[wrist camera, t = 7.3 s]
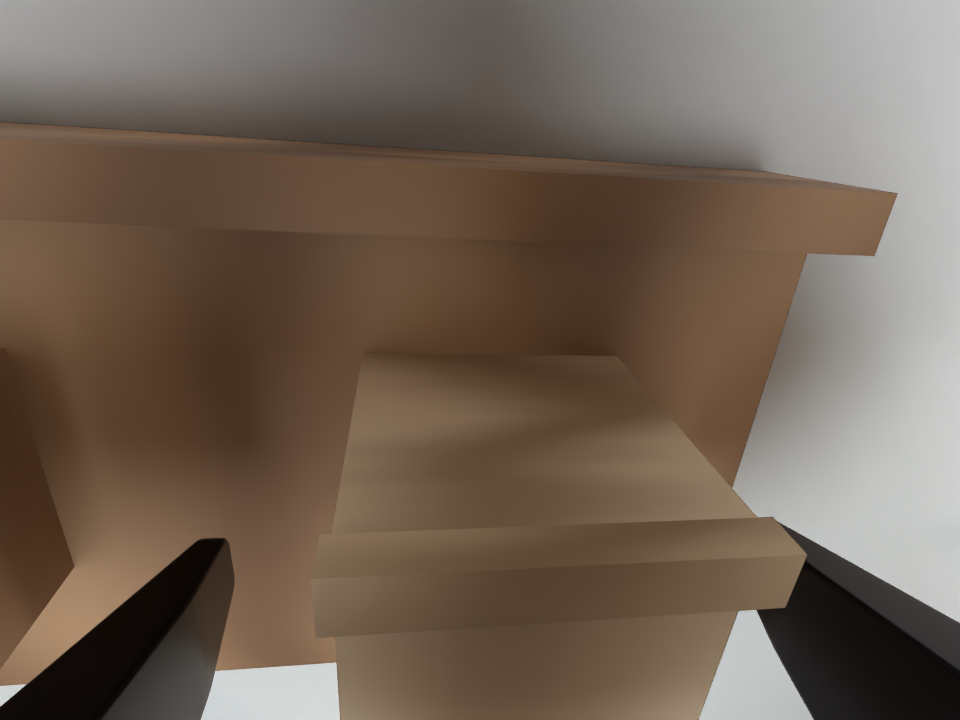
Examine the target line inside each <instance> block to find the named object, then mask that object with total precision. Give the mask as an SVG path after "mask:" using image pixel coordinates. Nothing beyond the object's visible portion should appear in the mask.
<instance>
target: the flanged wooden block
mask: <svg viewBox="0 0 960 720" xmlns="http://www.w3.org/2000/svg"><path fill="white" fill-rule="evenodd" d="M806 557H807V554H806V553H805V552H804V550H803V549H802V548H801V547H800V546H799V545H798V544H797V543H796V542H795V541H794V539H793V538H792V537H791V536H790V535H789V534H788V533H787V532H786V531H785V530H784V528H783V527H782V526H781V525H780V524H779V523H778V522H777V521H776V520H775V519H774V517H761V518H757V517H756V515H755V514H754V513H753V512H752V511H751V510H750V508H749V507H748V506H747V505H746V504H745V503H744V502H743V500H742V499H741V498H740V497H739V496H738V495H737V494H736V492H735V491H734V490H733V489H732V488H731V487H730V486H729V484H728V483H727V482H726V481H725V480H724V479H723V477H722V476H721V475H720V474H719V473H718V472H717V471H716V469H715V468H714V467H713V466H712V465H711V464H710V463H709V461H708V460H707V459H706V458H705V457H704V456H703V455H702V453H701V452H700V451H699V450H698V449H697V448H696V447H695V445H694V444H693V443H692V442H691V441H690V440H689V438H688V437H687V436H686V435H685V434H684V433H683V432H682V430H681V429H680V428H679V427H678V426H677V425H676V424H675V422H674V421H673V420H672V419H671V418H670V417H669V416H668V414H667V413H666V412H665V411H664V410H663V409H662V407H661V406H660V405H659V404H658V403H657V402H656V401H655V399H654V398H653V397H652V396H651V395H650V394H649V393H648V391H647V390H646V389H645V388H644V387H643V386H642V385H641V383H640V382H639V381H638V380H637V379H636V378H635V376H634V375H633V374H632V373H631V372H630V371H629V370H628V368H627V367H626V366H625V365H624V364H623V363H622V362H621V360H620V359H619V358H618V357H617V356H586V355H467V354H363V355H362V361H361V366H360V372H359V378H358V384H357V389H356V395H355V401H354V407H353V413H352V418H351V424H350V430H349V436H348V441H347V447H346V453H345V459H344V464H343V470H342V476H341V482H340V487H339V493H338V499H337V505H336V510H335V516H334V522H333V528H332V533H331V534H320V536H319V541H318V546H317V551H316V556H315V561H314V566H313V571H312V576H311V587H312V599H313V610H314V622H315V634H316V638H327V637H335V648H336V663H337V679H338V694H339V709H340V720H699V717H700V714H701V712H702V709H703V706H704V704H705V701H706V698H707V695H708V693H709V690H710V687H711V684H712V682H713V679H714V676H715V673H716V671H717V668H718V665H719V663H720V660H721V657H722V654H723V652H724V649H725V646H726V643H727V641H728V638H729V635H730V633H731V630H732V627H733V624H734V622H735V619H736V616H737V613H738V611H744V610H759V609H774V608H785V607H786V605H787V602H788V600H789V598H790V595H791V593H792V590H793V588H794V586H795V583H796V581H797V578H798V576H799V574H800V571H801V569H802V566H803V564H804V561H805V559H806Z"/></svg>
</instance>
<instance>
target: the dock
mask: <svg viewBox="0 0 960 720" xmlns="http://www.w3.org/2000/svg"><path fill="white" fill-rule="evenodd" d="M897 194H898V193H892V192H886V191H879V190H873V189H867V188H861V187H855V186H849V185H843V184H837V183H831V182H825V181H819V180H812V179H806V178H800V177H794V176H788V175H782V174H776V173H770V172H763V171H748V170H732V169H717V168H701V167H686V166H671V165H655V164H640V163H624V162H609V161H594V160H578V159H563V158H548V157H532V156H517V155H501V154H486V153H471V152H455V151H440V150H424V149H409V148H394V147H378V146H363V145H347V144H332V143H317V142H301V141H286V140H271V139H255V138H240V137H224V136H209V135H194V134H178V133H163V132H147V131H132V130H117V129H101V128H86V127H70V126H55V125H40V124H24V123H9V122H0V348H4V349H5V352H6V355H7V358H8V361H9V364H10V368H11V371H12V374H13V377H14V380H15V383H16V386H17V389H18V392H19V396H20V399H21V402H22V405H23V408H24V411H25V414H26V417H27V420H28V423H29V427H30V430H31V433H32V436H33V439H34V442H35V445H36V448H37V451H38V455H39V458H40V461H41V464H42V467H43V470H44V473H45V476H46V479H47V482H48V486H49V489H50V492H51V495H52V498H53V501H54V504H55V507H56V510H57V514H58V517H59V520H60V523H61V526H62V529H63V532H64V535H65V538H66V541H67V545H68V548H69V551H70V554H71V557H72V560H73V563H74V566H75V567H74V569H73V570H72V571H71V573H70V574H69V575H68V577H67V578H66V580H65V581H64V582H63V584H62V585H61V586H60V588H59V589H58V591H57V592H56V593H55V595H54V596H53V597H52V599H51V600H50V602H49V603H48V604H47V606H46V607H45V608H44V610H43V611H42V613H41V614H40V615H39V617H38V618H37V619H36V621H35V622H34V624H33V625H32V626H31V628H30V629H29V631H28V632H27V633H26V635H25V636H24V637H23V639H22V640H21V642H20V643H19V644H18V646H17V647H16V648H15V650H14V651H13V653H12V654H11V655H10V657H9V658H8V659H7V661H6V662H5V664H4V665H3V666H2V668H1V669H0V686H5V685H19V684H28V683H29V682H30V681H31V680H33V679H34V678H35V677H36V676H37V675H39V674H40V673H41V672H42V671H43V670H44V669H46V668H47V667H48V666H49V665H50V664H52V663H53V662H54V661H55V660H56V659H57V658H59V657H60V656H61V655H62V654H63V653H65V652H66V651H67V650H68V649H69V648H70V647H72V646H73V645H74V644H75V643H76V642H78V641H79V640H80V639H81V638H82V637H84V636H85V635H86V634H87V633H88V632H89V631H91V630H92V629H93V628H94V627H95V626H97V625H98V624H99V623H100V622H101V621H102V620H104V619H105V618H106V617H107V616H108V615H110V614H111V613H112V612H113V611H114V610H115V609H117V608H118V607H119V606H120V605H121V604H123V603H124V602H125V601H126V600H127V599H128V598H130V597H131V596H132V595H133V594H134V593H136V592H137V591H138V590H139V589H140V588H141V587H143V586H144V585H145V584H146V583H147V582H149V581H150V580H151V579H152V578H153V577H154V576H156V575H157V574H158V573H159V572H160V571H162V570H163V569H164V568H165V567H166V566H167V565H169V564H170V563H171V562H172V561H173V560H175V559H176V558H177V557H178V556H179V555H180V554H182V553H183V552H184V551H185V550H186V549H188V548H189V547H190V546H191V545H192V544H193V543H195V542H196V541H198V540H199V539H203V538H225V539H227V540H228V542H229V545H230V551H231V557H232V563H233V569H234V576H235V583H234V591H233V596H232V600H231V604H230V609H229V613H228V617H227V622H226V626H225V630H224V635H223V639H222V643H221V648H220V652H219V656H218V661H217V665H216V669H215V671H220V670H234V669H248V668H263V667H277V666H291V665H306V664H320V663H334V662H336V648H335V637H327V638H316V634H315V622H314V610H313V599H312V587H311V576H312V571H313V566H314V561H315V556H316V551H317V546H318V541H319V536H320V534H331V533H332V528H333V522H334V516H335V510H336V505H337V499H338V493H339V487H340V482H341V476H342V470H343V464H344V459H345V453H346V447H347V441H348V436H349V430H350V424H351V418H352V413H353V407H354V401H355V395H356V389H357V384H358V378H359V372H360V366H361V361H362V355H363V354H467V355H586V356H617V357H618V358H619V359H620V360H621V362H622V363H623V364H624V365H625V366H626V367H627V368H628V370H629V371H630V372H631V373H632V374H633V375H634V376H635V378H636V379H637V380H638V381H639V382H640V383H641V385H642V386H643V387H644V388H645V389H646V390H647V391H648V393H649V394H650V395H651V396H652V397H653V398H654V399H655V401H656V402H657V403H658V404H659V405H660V406H661V407H662V409H663V410H664V411H665V412H666V413H667V414H668V416H669V417H670V418H671V419H672V420H673V421H674V422H675V424H676V425H677V426H678V427H679V428H680V429H681V430H682V432H683V433H684V434H685V435H686V436H687V437H688V438H689V440H690V441H691V442H692V443H693V444H694V445H695V447H696V448H697V449H698V450H699V451H700V452H701V453H702V455H703V456H704V457H705V458H706V459H707V460H708V461H709V463H710V464H711V465H712V466H713V467H714V468H715V469H716V471H717V472H718V473H719V474H720V475H721V476H722V477H723V479H724V480H725V481H726V482H727V483H728V484H729V486H730V487H731V488H732V486H733V483H734V480H735V477H736V474H737V471H738V468H739V465H740V461H741V458H742V455H743V452H744V449H745V446H746V443H747V440H748V437H749V433H750V430H751V427H752V424H753V421H754V418H755V415H756V412H757V408H758V405H759V402H760V399H761V396H762V393H763V390H764V387H765V383H766V380H767V377H768V374H769V371H770V368H771V365H772V362H773V359H774V355H775V352H776V349H777V346H778V343H779V340H780V337H781V334H782V330H783V327H784V324H785V321H786V318H787V315H788V312H789V309H790V306H791V302H792V299H793V296H794V293H795V290H796V287H797V284H798V281H799V277H800V274H801V271H802V268H803V265H804V262H805V259H806V256H807V253H816V254H840V255H864V256H874V255H875V253H876V250H877V247H878V245H879V242H880V239H881V237H882V234H883V231H884V229H885V226H886V223H887V221H888V218H889V215H890V213H891V210H892V207H893V205H894V202H895V199H896V196H897Z"/></svg>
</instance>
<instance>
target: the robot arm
mask: <svg viewBox="0 0 960 720" xmlns="http://www.w3.org/2000/svg"><path fill="white" fill-rule="evenodd" d="M778 523H779V522H778ZM779 524H780V525H781V526H782V527H783V528H784V530H785V531H786V532H787V533H788V534H789V535H790V536H791V537H792V538H793V539H794V541H795V542H796V543H797V544H798V545H799V546H800V547H801V548H802V549H803V550H804V552H805V553H806V554H807V557H806V559H805V561H804V564H803V566H802V569H801V571H800V574H799V576H798V578H797V581H796V583H795V586H794V588H793V590H792V593H791V595H790V598H789V600H788V602H787V605H786V607H785V608H774V609H759V610H757V612H758V614H759V616H760V619H761V621H762V623H763V625H764V628H765V630H766V632H767V634H768V636H769V639H770V641H771V643H772V645H773V647H774V649H775V651H776V653H777V655H778V656H779V658H780V660H781V662H782V664H783V666H784V667H785V669H786V671H787V673H788V675H789V676H790V678H791V680H792V682H793V683H794V685H795V687H796V689H797V691H798V692H799V694H800V696H801V698H802V700H803V701H804V703H805V705H806V707H807V708H808V710H809V712H810V714H811V716H812V717H813V719H814V720H960V623H959V622H957V621H955V620H953V619H951V618H950V617H948V616H946V615H944V614H942V613H941V612H939V611H937V610H935V609H933V608H932V607H930V606H928V605H926V604H924V603H923V602H921V601H919V600H917V599H915V598H914V597H912V596H910V595H908V594H907V593H905V592H903V591H901V590H899V589H898V588H896V587H894V586H892V585H890V584H889V583H887V582H885V581H883V580H881V579H880V578H878V577H876V576H874V575H872V574H871V573H869V572H867V571H865V570H863V569H862V568H860V567H858V566H856V565H855V564H853V563H851V562H849V561H847V560H846V559H844V558H842V557H840V556H838V555H837V554H835V553H833V552H831V551H829V550H828V549H826V548H824V547H822V546H820V545H819V544H817V543H815V542H813V541H811V540H810V539H808V538H806V537H804V536H802V535H801V534H799V533H797V532H795V531H794V530H792V529H790V528H788V527H786V526H785V525H783V524H781V523H779ZM234 583H235V576H234V569H233V563H232V557H231V551H230V545H229V542H228V540H227V539H225V538H203V539H199V540H198V541H196V542H195V543H193V544H192V545H191V546H190V547H189V548H188V549H186V550H185V551H184V552H183V553H182V554H180V555H179V556H178V557H177V558H176V559H175V560H173V561H172V562H171V563H170V564H169V565H167V566H166V567H165V568H164V569H163V570H162V571H160V572H159V573H158V574H157V575H156V576H154V577H153V578H152V579H151V580H150V581H149V582H147V583H146V584H145V585H144V586H143V587H141V588H140V589H139V590H138V591H137V592H136V593H134V594H133V595H132V596H131V597H130V598H128V599H127V600H126V601H125V602H124V603H123V604H121V605H120V606H119V607H118V608H117V609H115V610H114V611H113V612H112V613H111V614H110V615H108V616H107V617H106V618H105V619H104V620H102V621H101V622H100V623H99V624H98V625H97V626H95V627H94V628H93V629H92V630H91V631H89V632H88V633H87V634H86V635H85V636H84V637H82V638H81V639H80V640H79V641H78V642H76V643H75V644H74V645H73V646H72V647H70V648H69V649H68V650H67V651H66V652H65V653H63V654H62V655H61V656H60V657H59V658H57V659H56V660H55V661H54V662H53V663H52V664H50V665H49V666H48V667H47V668H46V669H44V670H43V671H42V672H41V673H40V674H39V675H37V676H36V677H35V678H34V679H33V680H31V681H30V682H29V683H28V684H27V685H26V686H24V687H23V688H22V689H21V690H20V691H18V692H17V693H16V694H15V695H14V696H13V697H11V698H10V699H9V700H8V701H7V702H5V703H4V704H3V705H2V706H1V707H0V720H201V717H202V714H203V711H204V708H205V705H206V702H207V699H208V696H209V693H210V689H211V686H212V682H213V678H214V674H215V669H216V665H217V661H218V656H219V652H220V648H221V643H222V639H223V635H224V630H225V626H226V622H227V617H228V613H229V609H230V604H231V600H232V596H233V591H234Z"/></svg>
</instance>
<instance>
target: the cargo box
mask: <svg viewBox="0 0 960 720" xmlns="http://www.w3.org/2000/svg"><path fill="white" fill-rule="evenodd" d="M74 567H75V566H74V563H73V560H72V557H71V554H70V551H69V548H68V545H67V541H66V538H65V535H64V532H63V529H62V526H61V523H60V520H59V517H58V514H57V510H56V507H55V504H54V501H53V498H52V495H51V492H50V489H49V486H48V482H47V479H46V476H45V473H44V470H43V467H42V464H41V461H40V458H39V455H38V451H37V448H36V445H35V442H34V439H33V436H32V433H31V430H30V427H29V423H28V420H27V417H26V414H25V411H24V408H23V405H22V402H21V399H20V396H19V392H18V389H17V386H16V383H15V380H14V377H13V374H12V371H11V368H10V364H9V361H8V358H7V355H6V352H5V349H4V348H0V669H1V668H2V666H3V665H4V664H5V662H6V661H7V659H8V658H9V657H10V655H11V654H12V653H13V651H14V650H15V648H16V647H17V646H18V644H19V643H20V642H21V640H22V639H23V637H24V636H25V635H26V633H27V632H28V631H29V629H30V628H31V626H32V625H33V624H34V622H35V621H36V619H37V618H38V617H39V615H40V614H41V613H42V611H43V610H44V608H45V607H46V606H47V604H48V603H49V602H50V600H51V599H52V597H53V596H54V595H55V593H56V592H57V591H58V589H59V588H60V586H61V585H62V584H63V582H64V581H65V580H66V578H67V577H68V575H69V574H70V573H71V571H72V570H73V569H74Z"/></svg>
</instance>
